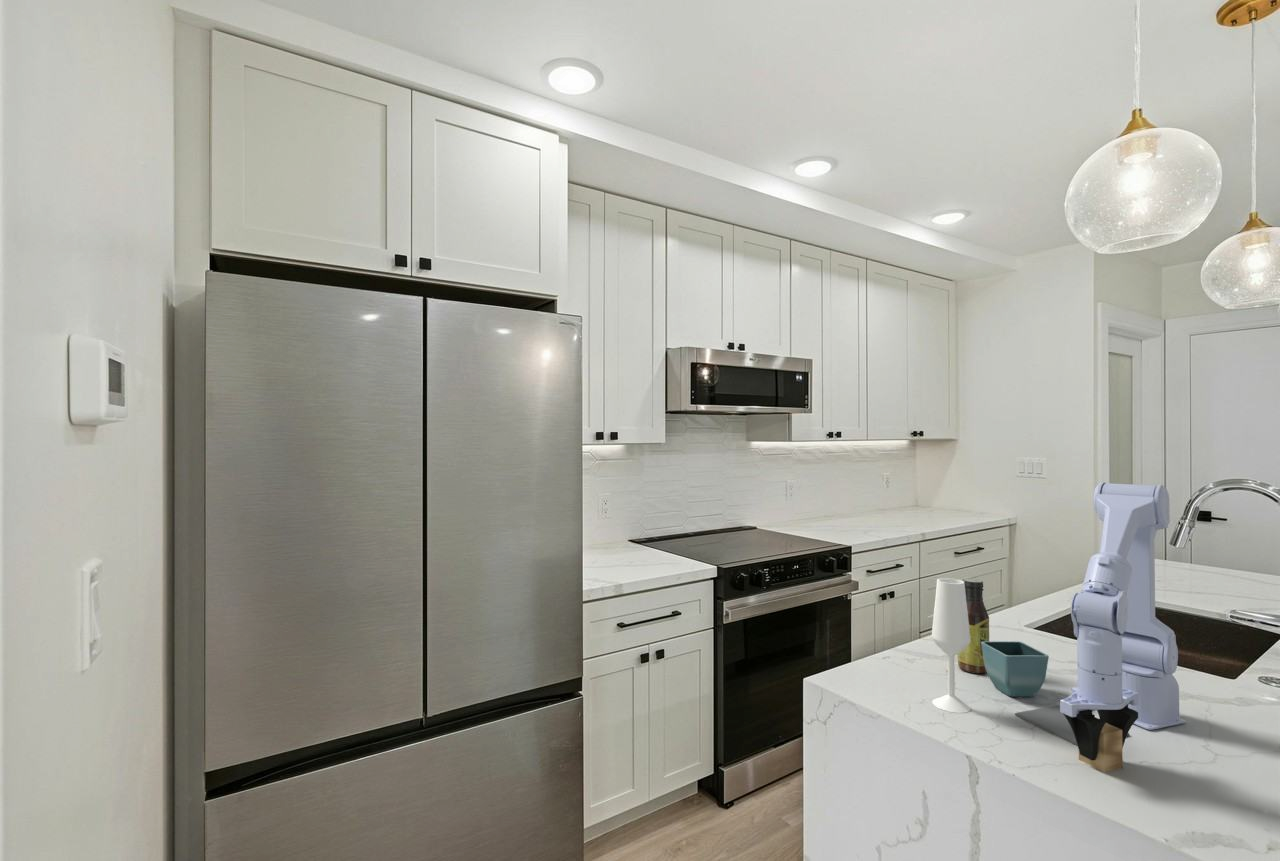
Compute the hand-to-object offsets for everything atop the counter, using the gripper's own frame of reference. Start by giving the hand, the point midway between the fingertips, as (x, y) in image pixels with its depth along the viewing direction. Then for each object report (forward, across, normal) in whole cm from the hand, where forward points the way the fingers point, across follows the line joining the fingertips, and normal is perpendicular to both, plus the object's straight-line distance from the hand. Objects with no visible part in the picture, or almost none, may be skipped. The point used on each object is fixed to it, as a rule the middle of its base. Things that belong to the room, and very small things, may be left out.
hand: (1100, 754), depth 97 cm
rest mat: (+1, -8, -11) cm, 14 cm away
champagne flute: (+2, +6, -24) cm, 25 cm away
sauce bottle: (+2, -13, -37) cm, 39 cm away
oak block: (+2, 0, 0) cm, 2 cm away
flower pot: (+2, -11, -25) cm, 27 cm away
